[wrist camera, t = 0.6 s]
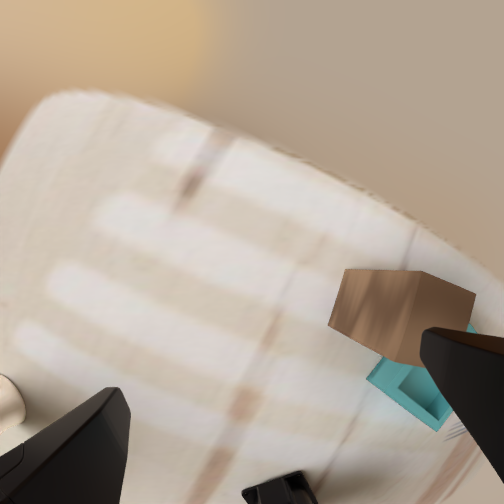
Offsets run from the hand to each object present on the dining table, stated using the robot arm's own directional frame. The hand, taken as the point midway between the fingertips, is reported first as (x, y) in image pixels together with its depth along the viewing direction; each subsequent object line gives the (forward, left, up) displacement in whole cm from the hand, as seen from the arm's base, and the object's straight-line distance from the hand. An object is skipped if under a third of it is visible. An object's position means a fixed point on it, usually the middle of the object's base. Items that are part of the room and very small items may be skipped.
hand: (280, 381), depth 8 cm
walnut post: (-4, -9, -17) cm, 20 cm away
